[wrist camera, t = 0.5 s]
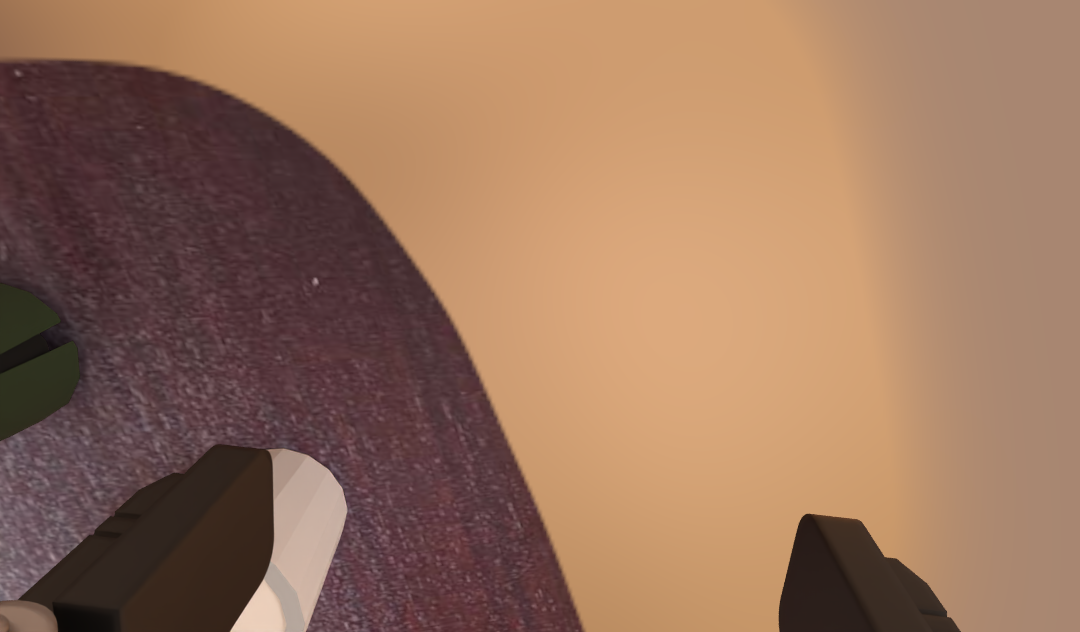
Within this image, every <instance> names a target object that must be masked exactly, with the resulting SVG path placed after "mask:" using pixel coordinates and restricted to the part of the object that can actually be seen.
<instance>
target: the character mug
mask: <svg viewBox="0 0 1080 632" xmlns="http://www.w3.org/2000/svg"><path fill="white" fill-rule="evenodd" d="M60 322H61V320H60V319H59V317H58V315H57V313H55V312H54V311H53V310H51V309H50V308H49V307H48V306H46V305H45V304H44V303H42V302H41V301H40V300H39V299H37V298H36V297H35V296H33V295H32V294H31V293H30V292H27V291H24V290H21V289H18V288H15V287H12V286H8V285H5V284H2V283H0V441H1V440H4V439H6V438H8V437H10V436H12V435H14V434H16V433H18V432H20V431H22V430H24V429H26V428H28V427H30V426H32V425H34V424H36V423H38V422H40V421H42V420H43V419H45V418H46V417H48V416H49V415H51V414H52V413H54V412H55V411H57V410H58V409H60V408H61V407H63V406H64V405H66V404H67V403H69V401H70V398H71V396H72V394H73V392H74V389H75V387H76V385H77V383H78V380H79V378H80V372H79V361H78V350H77V347H76V345H75V344H74V342H73V341H71V342H69V343H67V344H65V345H63V346H61V347H58V348H56V349H54V350H52V351H50V352H49V348H48V345H47V342H46V340H45V339H44V338H43V337H42V336H41V335H40V334H39V333H41V332H43V331H45V330H47V329H48V328H50V327H52V326H54V325H56V324H58V323H60Z"/></svg>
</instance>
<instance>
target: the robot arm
mask: <svg viewBox="0 0 1080 632" xmlns="http://www.w3.org/2000/svg"><path fill="white" fill-rule="evenodd" d="M273 546H274V501H273V462H272V457H271V454H270V452H269V451H268V450H264V449H256V448H247V447H239V446H230V445H221V444H217V445H215V446H213V447H212V448H210V449H209V450H208V451H207V452H206V453H205V454H204V455H203V456H202V457H201V458H200V459H199V460H198V461H197V462H196V463H195V464H194V465H193V466H192V467H191V468H190V469H189V470H188V471H187V472H186V473H185V474H180V473H172V474H170V475H168V476H166V477H164V478H162V479H160V480H158V481H156V482H154V483H152V484H150V485H148V486H146V487H144V488H142V489H140V490H139V491H138V492H136V493H135V494H134V495H133V496H132V497H131V498H130V499H129V500H128V501H126V502H125V503H124V504H123V505H122V506H121V507H120V508H119V509H118V510H117V511H115V515H114V517H113V516H110V517H109V518H108V519H107V520H105V521H104V522H103V523H102V524H101V525H100V526H99V527H98V528H97V529H96V530H95V533H94V535H89V536H88V537H87V538H86V539H84V540H83V541H82V542H81V543H80V544H79V545H78V546H77V547H76V548H75V549H73V550H72V551H71V552H70V553H69V554H68V555H67V556H66V557H65V558H63V559H62V560H61V561H60V562H59V563H58V564H57V565H56V566H55V567H54V568H52V569H51V570H50V571H49V572H48V573H47V574H46V575H45V576H44V577H42V578H41V579H40V580H39V581H38V582H37V583H36V584H35V585H34V586H33V587H31V588H30V589H29V590H28V591H27V592H26V593H25V594H24V595H23V596H21V597H20V598H19V599H18V600H9V601H0V632H230V631H231V629H232V628H233V626H234V624H235V623H236V621H237V620H238V618H239V617H240V615H241V614H242V612H243V611H244V609H245V608H246V606H247V604H248V603H249V601H250V600H251V598H252V597H253V595H254V594H255V592H256V591H257V589H258V588H259V586H260V584H261V583H262V581H263V579H264V577H265V575H266V573H267V570H268V568H269V564H270V561H271V557H272V552H273ZM779 630H780V632H961V631H960V630H959V629H958V627H957V626H956V624H955V623H954V621H953V620H952V619H951V618H949V617H947V611H946V610H945V609H944V607H943V606H942V604H941V603H940V601H939V600H938V598H937V597H936V596H935V594H934V593H933V591H932V590H931V588H930V587H929V586H928V584H927V583H926V582H924V581H923V580H922V579H921V578H919V577H918V576H917V575H916V574H915V573H913V572H912V571H911V570H910V569H908V568H907V567H906V566H905V565H904V564H902V563H901V562H900V561H899V560H897V559H895V558H886V557H884V555H883V554H882V552H881V551H880V549H879V548H878V546H877V544H876V543H875V541H874V540H873V538H872V537H871V535H870V534H869V532H868V531H867V529H866V527H865V526H864V525H863V523H862V522H861V521H859V520H857V519H849V518H841V517H832V516H823V515H815V514H806V515H804V516H803V517H802V519H801V520H800V523H799V525H798V529H797V533H796V537H795V541H794V545H793V549H792V553H791V558H790V562H789V566H788V570H787V574H786V579H785V582H784V587H783V591H782V595H781V600H780V606H779Z"/></svg>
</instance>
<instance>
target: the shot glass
mask: <svg viewBox="0 0 1080 632" xmlns="http://www.w3.org/2000/svg"><path fill="white" fill-rule="evenodd" d="M267 450H268V451H269V452H270V454H271V457H272V462H273V501H274V546H273V552H272V557H271V561H270V564H269V568H268V570H267V573H266V575H265V577H264V579H263V581H262V583H261V584H260V586H259V588H258V589H257V591H256V592H255V594H254V595H253V597H252V598H251V600H250V601H249V603H248V604H247V606H246V608H245V609H244V611H243V612H242V614H241V615H240V617H239V618H238V620H237V621H236V623H235V624H234V626H233V628H232V629H231V631H230V632H306V630H307V627H308V624H309V622H310V619H311V616H312V613H313V611H314V608H315V605H316V602H317V600H318V597H319V594H320V591H321V589H322V586H323V583H324V580H325V578H326V575H327V572H328V569H329V567H330V564H331V561H332V558H333V556H334V553H335V550H336V547H337V545H338V542H339V539H340V536H341V534H342V531H343V527H344V523H345V519H346V515H347V506H346V501H345V497H344V492H343V489H342V487H341V486H340V485H339V483H338V482H337V480H336V479H335V477H334V476H333V475H332V473H331V472H330V470H329V469H327V468H326V467H324V466H323V465H321V464H320V463H319V462H317V461H316V460H314V459H313V458H311V457H310V456H309V455H305V454H302V453H298V452H295V451H291V450H288V449H284V448H282V449H267Z"/></svg>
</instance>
